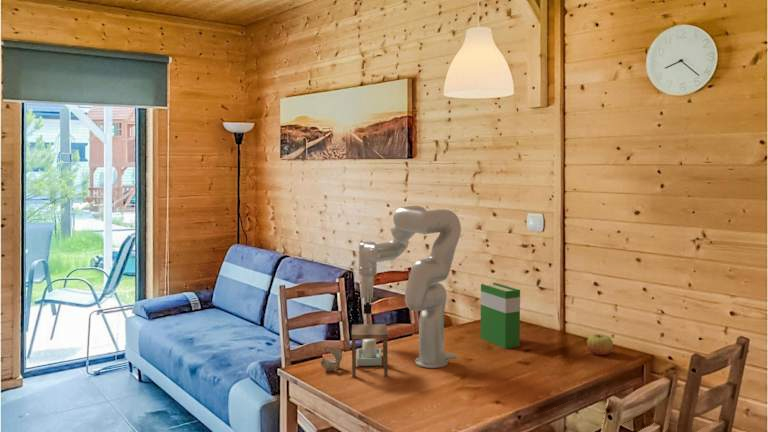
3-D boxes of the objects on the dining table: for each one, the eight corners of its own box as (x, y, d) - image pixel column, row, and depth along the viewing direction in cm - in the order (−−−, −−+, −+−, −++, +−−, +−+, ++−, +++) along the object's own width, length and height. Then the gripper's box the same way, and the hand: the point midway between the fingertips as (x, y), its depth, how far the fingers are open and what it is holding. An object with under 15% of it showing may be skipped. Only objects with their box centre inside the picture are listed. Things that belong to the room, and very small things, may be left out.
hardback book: (480, 337, 273) (480, 284, 271) (494, 335, 276) (494, 282, 274) (505, 348, 257) (505, 291, 255) (519, 346, 260) (520, 290, 258)
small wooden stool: (386, 364, 237) (386, 324, 236) (387, 377, 224) (387, 334, 222) (352, 365, 237) (352, 324, 236) (352, 378, 223) (351, 335, 222)
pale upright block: (376, 355, 245) (376, 337, 244) (376, 359, 240) (376, 341, 239) (363, 355, 245) (362, 338, 244) (362, 359, 239) (362, 342, 239)
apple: (585, 355, 247) (586, 336, 246) (587, 348, 256) (588, 329, 255) (612, 358, 243) (612, 338, 242) (612, 351, 252) (613, 332, 251)
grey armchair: (380, 347, 259) (379, 334, 258) (381, 365, 236) (381, 351, 235) (357, 347, 259) (357, 335, 258) (357, 365, 236) (357, 352, 235)
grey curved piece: (325, 372, 225) (321, 345, 230) (319, 376, 231) (316, 350, 235) (347, 370, 229) (343, 343, 233) (341, 374, 234) (337, 348, 238)
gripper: (358, 267, 269) (358, 308, 271) (358, 274, 254) (358, 318, 256) (376, 267, 269) (375, 308, 271) (377, 274, 254) (376, 318, 256)
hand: (367, 313), depth 263 cm, fingers closed
